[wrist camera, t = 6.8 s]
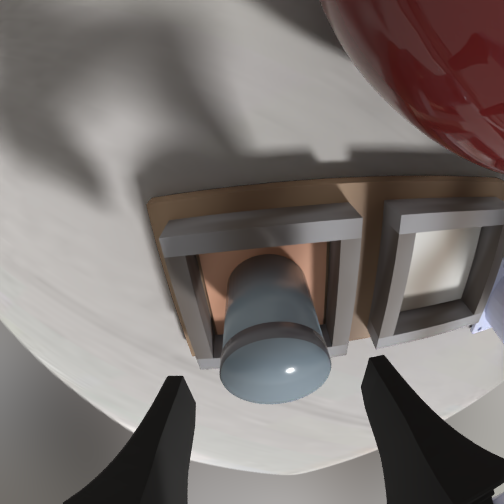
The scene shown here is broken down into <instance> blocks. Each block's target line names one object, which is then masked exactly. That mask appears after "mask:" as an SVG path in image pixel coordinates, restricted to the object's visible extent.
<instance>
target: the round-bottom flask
mask: <svg viewBox="0 0 504 504" xmlns="http://www.w3.org/2000/svg"><path fill="white" fill-rule="evenodd" d="M320 3H321V5H322V8H323V11H324V13H325V15H326V17H327V20H328V22H329V24H330V26H331V28H332V30H333V32H334V34H335V35H336V37H337V39H338V41H339V42H340V44H341V46H342V47H343V49H344V50H345V52H346V53H347V55H348V56H349V58H350V59H351V61H352V62H353V64H354V65H355V66H356V68H357V69H358V70H359V72H360V73H361V74H362V75H363V77H364V78H365V79H366V80H367V81H368V83H369V84H370V85H371V86H372V87H373V88H374V90H375V91H376V92H377V93H378V94H379V95H380V96H381V97H382V98H383V99H384V100H385V101H386V102H387V103H388V104H389V105H390V106H391V107H392V108H393V109H394V110H395V111H396V112H398V113H399V114H400V115H401V116H402V117H403V118H404V119H406V120H407V121H408V122H409V123H410V124H412V125H413V126H414V127H415V128H417V129H418V130H419V131H421V132H422V133H423V134H425V135H426V136H427V137H429V138H430V139H432V140H433V141H435V142H436V143H438V144H439V145H441V146H443V147H444V148H446V149H448V150H449V151H451V152H453V153H455V154H456V155H458V156H460V157H462V158H464V159H466V160H468V161H470V162H472V163H474V164H477V165H479V166H482V167H484V168H487V169H489V170H492V171H495V172H498V173H501V174H504V0H320Z"/></svg>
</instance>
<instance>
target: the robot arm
mask: <svg viewBox="0 0 504 504" xmlns="http://www.w3.org/2000/svg"><path fill="white" fill-rule="evenodd" d="M491 327H492V329H493V330H494V331H495V333H496V334H497V335H498V337H499V338H500V340H501V341H502V342H503V344H504V258H503V259H502V262H501V265H500V268H499V271H498V274H497V277H496V280H495V283H494V285H493V288H492V291H491V293H490V296H489V299H488V301H487V304H486V306H485V308H484V311H483V313H482V315H481V318H480V320H479V322H478V323H475V324H473V325H472V327H471V330H470V331H471V332H472V334H474V333H477V332H480V331H483V330H486V329H489V328H491ZM361 390H362V395H363V400H364V405H365V409H366V412H367V416H368V419H369V422H370V425H371V428H372V431H373V434H374V437H375V440H376V443H377V446H378V450H379V453H380V457H381V461H382V467H383V473H384V479H385V487H386V497H387V504H504V492H503V493H501V494H499V495H497V496H495V497H493V498H492V496H493V495H494V489H495V488H496V487H498V486H500V485H501V484H502V483H504V458H501V457H499V456H497V455H495V454H493V453H491V452H489V451H487V450H485V449H483V448H481V447H480V446H478V445H476V444H475V443H473V442H472V441H470V440H469V439H467V438H466V437H464V436H463V435H461V434H460V433H459V432H457V431H456V430H454V428H452V427H451V426H450V425H448V424H447V423H446V422H445V421H444V420H443V419H441V418H440V417H439V416H438V415H437V414H436V413H435V412H434V411H433V410H432V409H431V408H430V407H429V406H428V405H427V404H426V403H425V402H424V401H423V400H422V399H421V398H420V397H419V396H418V395H417V394H416V392H415V391H414V390H413V389H412V388H411V387H410V386H409V385H408V383H407V382H406V381H405V380H404V379H403V378H402V376H401V375H400V374H399V373H398V372H397V370H396V369H395V368H394V367H393V365H392V364H391V363H390V362H389V360H388V359H387V358H386V357H385V356H384V355H381V356H376V357H371V358H369V361H368V365H367V368H366V372H365V375H364V378H363V382H362V385H361ZM195 414H196V402H195V400H194V398H193V396H192V394H191V392H190V390H189V388H188V386H187V383H186V381H185V379H184V377H183V376H168V377H167V378H166V380H165V382H164V384H163V386H162V387H161V389H160V391H159V393H158V395H157V397H156V398H155V400H154V402H153V404H152V405H151V407H150V409H149V410H148V412H147V414H146V415H145V417H144V419H143V420H142V422H141V423H140V425H139V426H138V428H137V429H136V431H135V432H134V434H133V435H132V437H131V438H130V440H129V441H128V442H127V444H126V445H125V446H124V447H123V449H122V450H121V451H120V452H119V454H118V455H117V456H116V457H115V458H114V460H113V461H112V462H111V463H110V464H109V465H108V466H107V467H106V468H105V469H104V470H103V471H102V472H101V473H100V474H99V475H98V476H97V477H96V478H95V479H93V480H92V481H91V482H90V483H89V484H88V485H87V486H85V487H84V488H83V489H82V490H80V491H79V492H77V493H76V494H75V495H73V496H72V497H70V498H69V499H68V500H66V501H65V502H63V504H187V486H188V469H189V463H190V456H191V449H192V443H193V436H194V429H195Z"/></svg>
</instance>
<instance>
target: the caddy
mask: <svg viewBox="0 0 504 504" xmlns="http://www.w3.org/2000/svg"><path fill="white" fill-rule="evenodd" d="M146 206H147V210H148V214H149V218H150V222H151V226H152V230H153V233H154V237H155V241H156V245H157V248H158V252H159V255H160V259H161V262H162V266H163V269H164V273H165V276H166V279H167V283H168V286H169V289H170V292H171V295H172V299H173V302H174V305H175V308H176V311H177V314H178V317H179V320H180V323H181V326H182V329H183V332H184V334H185V337H186V340H187V343H188V346H189V348H190V351H191V354H192V356H196V359H197V362H198V364H199V367H200V369H220V359H221V352H222V348H223V334H224V320H225V307H226V294H227V283H228V279H229V277H230V275H231V273H232V271H233V270H234V269H235V268H236V267H237V266H238V265H239V264H240V263H242V262H243V261H245V260H247V259H249V258H251V257H254V256H257V255H263V254H275V255H280V256H284V257H286V258H289V259H291V260H292V261H294V262H295V263H296V264H297V265H298V266H299V267H300V268H301V269H302V271H303V272H304V275H305V277H306V280H307V284H308V287H309V290H310V294H311V297H312V300H313V304H314V307H315V311H316V314H317V318H318V321H319V324H320V328H321V332H322V335H323V339H324V340H325V343H326V345H327V349H328V352H329V356H330V357H336V356H343V355H346V354H347V348H348V343H349V341H352V340H358V339H363V338H369V337H371V339H372V341H373V344H374V346H375V348H376V349H380V348H385V347H390V346H394V345H399V344H403V343H407V342H412V341H416V340H420V339H424V338H428V337H431V336H435V335H439V334H442V333H446V332H449V331H453V330H456V329H460V328H463V327H466V326H469V325H472V324H475V323H478V322H479V320H480V318H481V315H482V313H483V311H484V308H485V306H486V304H487V301H488V299H489V296H490V293H491V291H492V288H493V285H494V283H495V280H496V277H497V274H498V271H499V268H500V265H501V262H502V259H503V255H504V181H502V180H500V179H499V178H490V177H468V176H371V177H346V178H328V179H312V180H298V181H286V182H274V183H264V184H253V185H244V186H235V187H226V188H218V189H210V190H202V191H195V192H187V193H180V194H174V195H167V196H160V197H154V198H151V199H150V201H149V202H148V203H147V204H146Z"/></svg>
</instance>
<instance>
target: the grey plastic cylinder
mask: <svg viewBox="0 0 504 504" xmlns="http://www.w3.org/2000/svg"><path fill="white" fill-rule="evenodd" d="M330 370H331V360H330V356H329V352H328V349H327V345H326V343H325V340H324V339H323V335H322V332H321V328H320V324H319V321H318V318H317V314H316V311H315V307H314V304H313V300H312V297H311V294H310V290H309V287H308V284H307V280H306V277H305V275H304V272H303V271H302V269H301V268H300V267H299V266H298V265H297V264H296V263H295V262H294V261H292V260H291V259H289V258H286V257H284V256H280V255H275V254H263V255H257V256H254V257H251V258H249V259H247V260H245V261H243V262H242V263H240V264H239V265H238V266H237V267H236V268H235V269H234V270H233V271H232V273H231V275H230V277H229V279H228V283H227V294H226V307H225V320H224V334H223V348H222V352H221V359H220V379H221V381H222V383H223V385H224V386H225V388H226V389H227V390H228V391H229V392H230V393H232V394H233V395H235V396H236V397H238V398H240V399H243V400H246V401H249V402H253V403H259V404H280V403H286V402H291V401H294V400H298V399H300V398H303V397H305V396H307V395H309V394H311V393H313V392H314V391H316V390H317V389H318V388H319V387H320V386H322V384H323V383H324V382H325V381H326V379H327V378H328V376H329V373H330Z"/></svg>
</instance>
